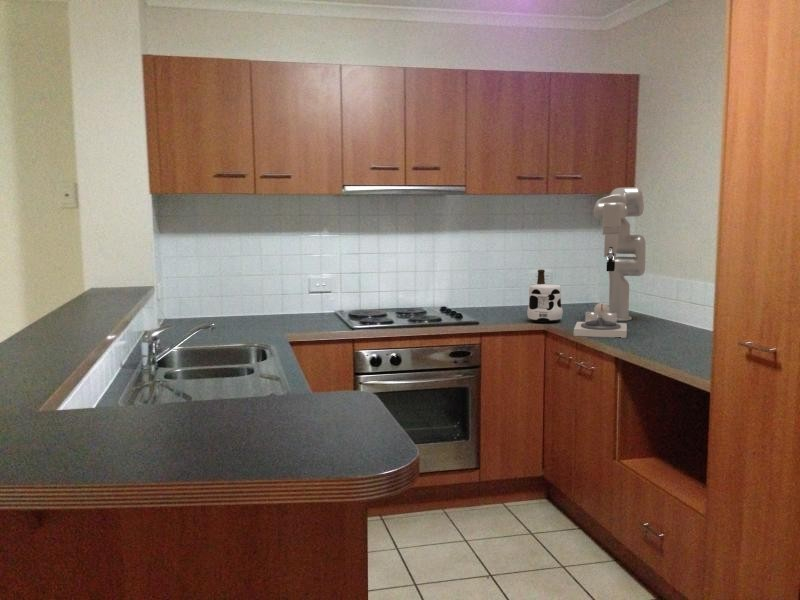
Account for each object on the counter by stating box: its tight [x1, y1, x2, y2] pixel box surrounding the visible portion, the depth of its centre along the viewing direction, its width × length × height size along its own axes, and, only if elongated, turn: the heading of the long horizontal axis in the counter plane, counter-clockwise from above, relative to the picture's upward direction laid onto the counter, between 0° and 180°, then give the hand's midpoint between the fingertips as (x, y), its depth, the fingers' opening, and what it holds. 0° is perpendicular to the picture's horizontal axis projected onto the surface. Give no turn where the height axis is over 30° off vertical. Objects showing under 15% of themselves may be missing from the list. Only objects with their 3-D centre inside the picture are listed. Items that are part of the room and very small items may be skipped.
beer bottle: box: [536, 269, 546, 284], centre depth 364 cm, size 8×8×24 cm
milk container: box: [526, 283, 564, 323], centre depth 339 cm, size 17×17×18 cm
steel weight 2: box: [602, 312, 618, 326], centre depth 301 cm, size 6×6×6 cm
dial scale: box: [573, 302, 628, 339], centre depth 304 cm, size 22×22×12 cm
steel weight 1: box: [584, 311, 599, 326], centre depth 304 cm, size 6×6×6 cm
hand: (610, 270), depth 299 cm, fingers open, 9 cm apart
